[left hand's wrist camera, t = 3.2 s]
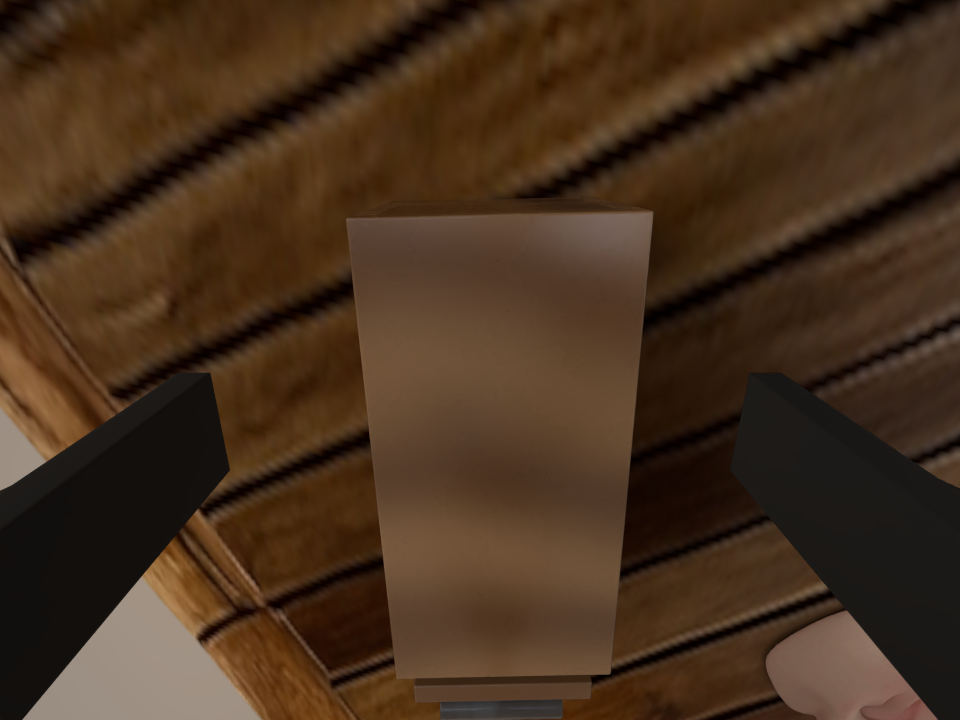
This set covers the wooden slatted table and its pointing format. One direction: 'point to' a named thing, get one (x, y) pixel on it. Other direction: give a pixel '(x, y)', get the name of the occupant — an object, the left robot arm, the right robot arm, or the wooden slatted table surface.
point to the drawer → (502, 696)
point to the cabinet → (501, 424)
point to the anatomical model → (841, 675)
